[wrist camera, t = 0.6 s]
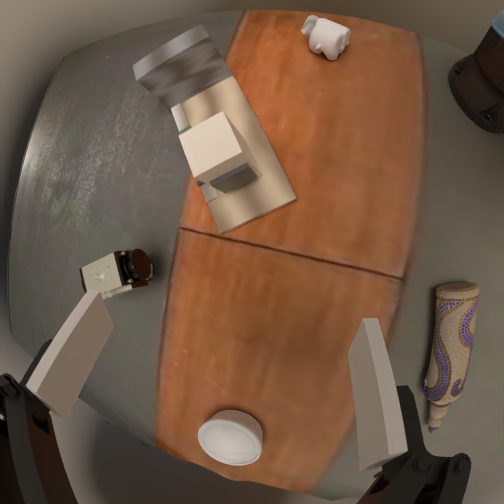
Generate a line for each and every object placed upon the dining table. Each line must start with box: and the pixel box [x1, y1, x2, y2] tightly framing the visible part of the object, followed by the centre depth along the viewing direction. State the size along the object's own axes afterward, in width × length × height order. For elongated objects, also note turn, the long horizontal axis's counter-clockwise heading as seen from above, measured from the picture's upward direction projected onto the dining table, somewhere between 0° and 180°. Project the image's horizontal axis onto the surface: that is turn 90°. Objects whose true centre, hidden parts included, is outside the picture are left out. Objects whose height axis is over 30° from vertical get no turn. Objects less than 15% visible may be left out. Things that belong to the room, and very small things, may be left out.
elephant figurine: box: [301, 15, 351, 60], centre depth 32 cm, size 8×10×7 cm
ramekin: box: [198, 410, 263, 465], centre depth 38 cm, size 11×11×5 cm
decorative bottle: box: [422, 282, 479, 433], centre depth 29 cm, size 26×8×7 cm, turn 3°
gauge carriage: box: [179, 111, 262, 193], centre depth 34 cm, size 9×8×10 cm
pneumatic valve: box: [79, 249, 153, 300], centre depth 38 cm, size 6×12×12 cm, turn 108°
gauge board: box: [133, 24, 297, 234], centre depth 34 cm, size 12×28×12 cm, turn 23°
